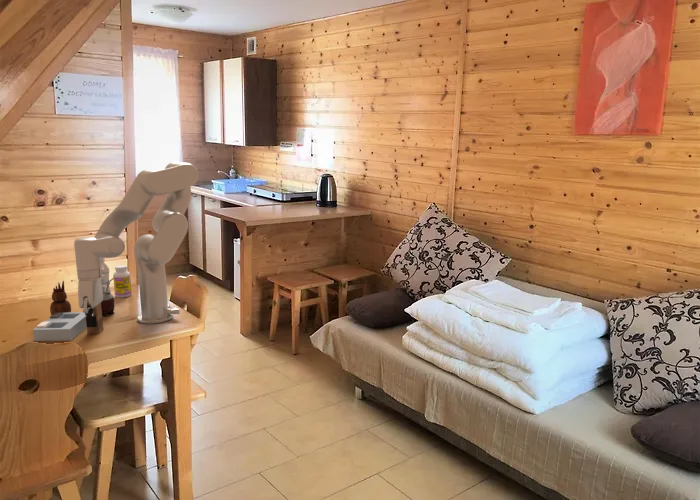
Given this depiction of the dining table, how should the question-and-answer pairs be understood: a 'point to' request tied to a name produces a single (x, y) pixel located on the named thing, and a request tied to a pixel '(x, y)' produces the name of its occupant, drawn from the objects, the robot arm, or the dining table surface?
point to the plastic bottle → (104, 275)
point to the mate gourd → (107, 302)
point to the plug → (98, 319)
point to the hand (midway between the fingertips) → (94, 324)
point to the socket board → (60, 327)
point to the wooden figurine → (59, 300)
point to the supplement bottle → (122, 281)
